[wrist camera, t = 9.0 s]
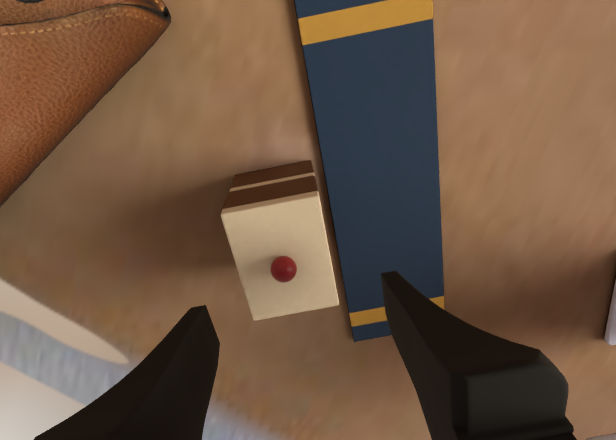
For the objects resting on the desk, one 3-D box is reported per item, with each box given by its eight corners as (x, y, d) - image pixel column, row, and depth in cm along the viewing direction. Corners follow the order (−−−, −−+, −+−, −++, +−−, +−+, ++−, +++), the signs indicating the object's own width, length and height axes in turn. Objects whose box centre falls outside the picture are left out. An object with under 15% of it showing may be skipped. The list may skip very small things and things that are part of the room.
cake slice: (311, 159, 21) (321, 205, 15) (328, 250, 24) (342, 320, 18) (235, 174, 22) (215, 225, 15) (260, 263, 24) (251, 336, 18)
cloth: (428, -43, 18) (430, -45, 17) (443, 322, 27) (445, 325, 27) (291, -15, 18) (291, -15, 18) (353, 339, 27) (354, 342, 27)
